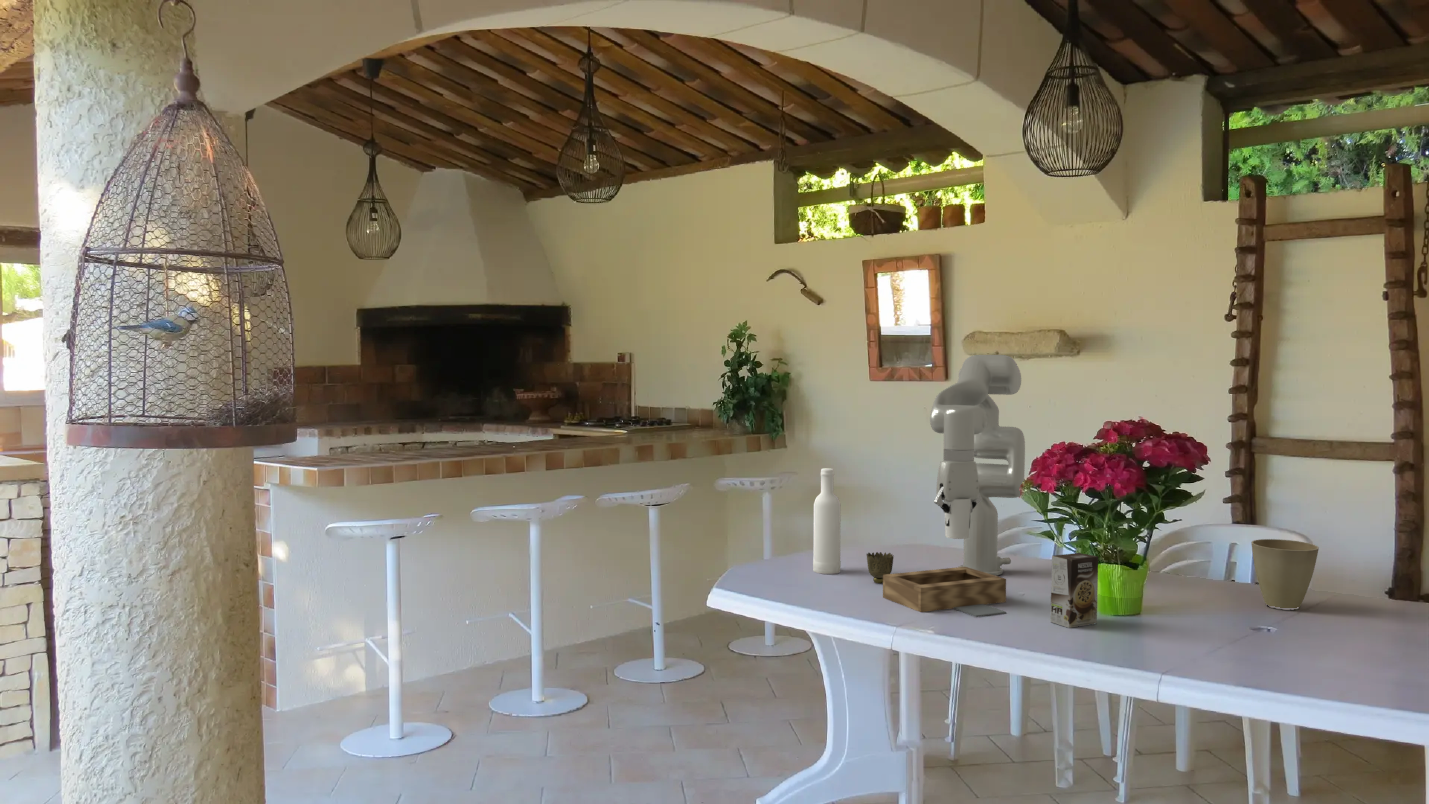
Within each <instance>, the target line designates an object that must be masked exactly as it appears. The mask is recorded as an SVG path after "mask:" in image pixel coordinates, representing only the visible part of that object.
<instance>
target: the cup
mask: <svg viewBox="0 0 1429 804" xmlns="http://www.w3.org/2000/svg"><path fill="white" fill-rule="evenodd" d="M894 557H895V556H894V555H893V553H891V552H888V553H886V552H884V553H882V552H881V551H880V552H878V551H877V552H871V553H870V552H868V553H866V562H867V570H868V573H869V575H870V576H871V577H873V583H875V584H877V585H878V584H879V585H880V584H881V585H883V575H886V574H892V571H893V564H894Z"/></svg>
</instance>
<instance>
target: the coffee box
mask: <svg viewBox="0 0 1429 804" xmlns="http://www.w3.org/2000/svg"><path fill="white" fill-rule="evenodd" d="M1098 577H1099V556H1097V555H1092V554H1087V553H1081V552H1074V553H1066V554H1065V553H1063V554H1055V555H1052V556H1051V582H1050V584H1051V587H1050V591H1051V592H1050V619H1049V621H1050V623H1051V624H1052V623H1053V624H1056V625H1059V626H1062V627H1065V628H1067V629H1068V628H1069V629H1071V628H1078V626H1079V627H1082V626H1083V627H1084V626H1090V625H1089V624H1092V625H1095V624H1094V623H1097V624H1098V591H1099V590H1098V587H1099V586H1098V585H1099V584H1098V580H1099V578H1098Z"/></svg>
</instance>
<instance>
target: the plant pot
mask: <svg viewBox="0 0 1429 804" xmlns="http://www.w3.org/2000/svg"><path fill="white" fill-rule="evenodd" d="M1319 548H1320V547H1319V546H1318V545H1316V544H1313V543H1310V542H1305V541H1299V540H1293V539H1291V540H1290V539H1279V538H1278V539H1277V538H1276V539H1275V538H1271V539H1270V538H1265V539H1264V538H1262V539H1254V540H1252V541H1251V551H1252V557H1253V564H1254V570H1255V574H1256V578H1257V583H1258V585H1259V590H1260V592H1261V595H1262V599H1263V600H1264V603H1266V604H1267V605H1269V606H1275V607H1280V608H1297V607H1300V608H1301V606H1302V604H1303V602H1304V599H1305V597H1306V594H1307V592H1308V589H1309V586H1310V584H1311V582H1312V578H1313V574H1314V571H1315V567H1316V563H1317V560H1318V559H1317V558H1318V554H1319V550H1320V549H1319ZM1266 604H1265V605H1266Z"/></svg>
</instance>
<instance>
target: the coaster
mask: <svg viewBox="0 0 1429 804" xmlns="http://www.w3.org/2000/svg"><path fill="white" fill-rule="evenodd" d="M953 610H956V611H959V612H961V613H963V614H967V615H970V616H972V617H974V618H978V617H979V618H981V617H988V616H994V615H995V616H996V615H1002V614H1003V615H1004V614H1007V611H1005V610H1003V609H1000V608H997V607H995V606H994V607H993V606H990V605H989V604H986V605H985V604H977V605H969V606H960V607H954V608H953Z"/></svg>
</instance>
